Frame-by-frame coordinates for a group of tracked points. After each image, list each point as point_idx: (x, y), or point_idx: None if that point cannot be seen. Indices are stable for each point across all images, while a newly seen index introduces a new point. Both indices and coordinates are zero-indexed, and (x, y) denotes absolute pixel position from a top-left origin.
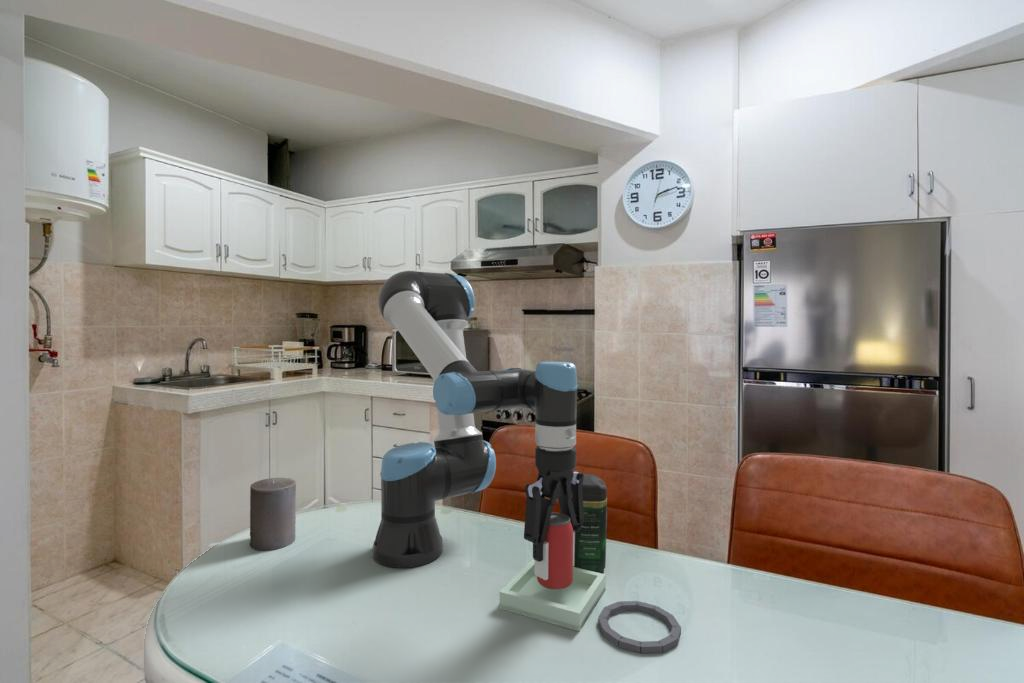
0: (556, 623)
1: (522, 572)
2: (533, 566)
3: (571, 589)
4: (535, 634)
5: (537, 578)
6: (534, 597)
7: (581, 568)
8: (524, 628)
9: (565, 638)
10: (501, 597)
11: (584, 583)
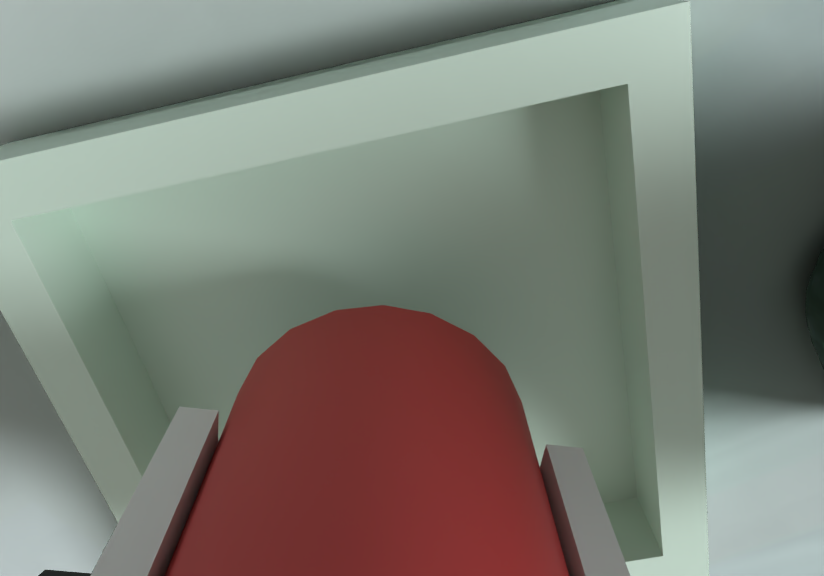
0: None
1: (339, 112)
2: (532, 102)
3: None
4: (25, 454)
5: (263, 356)
6: (110, 418)
7: (816, 338)
8: (9, 388)
9: None
10: None
11: (632, 429)
